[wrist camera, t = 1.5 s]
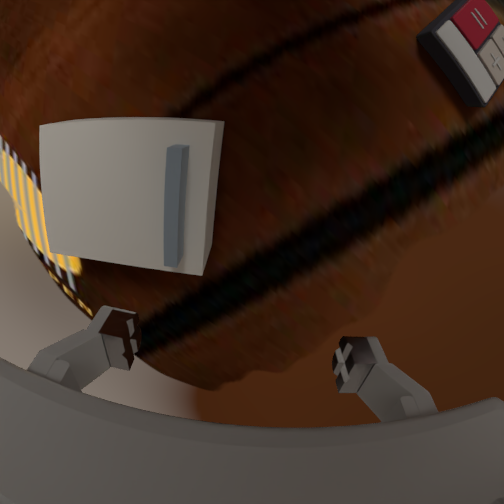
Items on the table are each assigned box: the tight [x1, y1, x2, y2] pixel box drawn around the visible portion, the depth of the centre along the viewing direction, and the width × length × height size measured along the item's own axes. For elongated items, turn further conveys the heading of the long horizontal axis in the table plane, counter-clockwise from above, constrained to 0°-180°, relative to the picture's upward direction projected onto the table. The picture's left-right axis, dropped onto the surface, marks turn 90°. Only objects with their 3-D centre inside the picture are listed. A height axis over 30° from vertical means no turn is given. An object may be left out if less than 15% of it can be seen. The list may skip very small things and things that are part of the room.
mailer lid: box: [40, 119, 216, 276], centre depth 23 cm, size 14×18×3 cm
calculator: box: [416, 0, 504, 107], centre depth 19 cm, size 11×4×15 cm
